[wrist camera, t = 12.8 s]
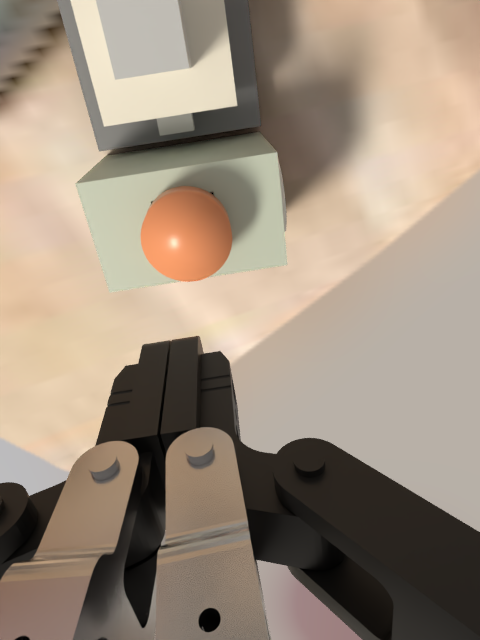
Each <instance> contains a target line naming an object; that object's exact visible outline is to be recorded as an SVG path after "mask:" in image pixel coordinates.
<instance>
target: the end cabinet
mask: <svg viewBox="0 0 480 640" xmlns="http://www.w3.org/2000/svg"><path fill="white" fill-rule="evenodd" d="M179 186H192V187H197V188H201V189H203V190H205V191H208V192H213V193H214V196H215V197H216V198H217V199H218V200H219V201H220V202H221V203H222V205H223V206H224V208H225V209H226V211H227V214H228V216H229V220H230V225H231V231H232V247H231V251H230V254H229V256H228V259H227V260H226V262H225V263H224V265H223V266H222V267H221V268H220V269H219V270H218V271H217V272H216V273H214V274H213V275H211V276H209V277H213V276H220V275H226V274H233V273H239V272H246V271H252V270H258V269H265V268H271V267H278V266H284V265H287V255H286V243H285V231H286V202H285V192H284V185H283V178H282V173H281V168H280V163H279V160H278V154H277V151H276V150H275V149H274V148H273V147H272V146H271V144H270V143H269V142H268V141H267V140H266V139H265V138H264V136H263V135H262V134H261V133H260V132H254V133H248V134H242V135H235V136H229V137H223V138H216V139H210V140H203V141H197V142H191V143H184V144H178V145H171V146H165V147H159V148H152V149H146V150H140V151H133V152H127V153H120V154H114V155H108V156H105V157H104V158H103V159H102V160H101V161H100V162H99V163H98V164H97V165H95V166H94V167H93V168H92V169H91V170H90V171H89V172H88V173H87V174H86V175H84V176H83V177H82V178H81V179H80V180H79V181H78V182H77V183H76V187H77V190H78V193H79V197H80V200H81V203H82V206H83V209H84V213H85V216H86V219H87V222H88V225H89V228H90V232H91V235H92V238H93V241H94V244H95V248H96V251H97V254H98V257H99V260H100V263H101V267H102V270H103V273H104V276H105V279H106V283H107V286H108V289H109V292H117V291H123V290H130V289H136V288H143V287H149V286H155V285H162V284H168V283H175V282H181V281H178V280H174V279H171V278H169V277H166V276H165V275H163V274H161V273H160V272H158V271H157V270H156V269H155V268H154V267H153V266H152V265H151V264H150V263H149V261H148V260H147V258H146V256H145V254H144V252H143V249H142V245H141V228H142V224H143V221H144V219H145V216H146V213H147V211H148V209H149V207H150V205H151V204H152V202H153V201H154V200H155V199H156V198H157V197H158V196H159V195H160V194H162V193H163V192H165V191H167V190H169V189H172V188H175V187H179Z"/></svg>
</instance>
